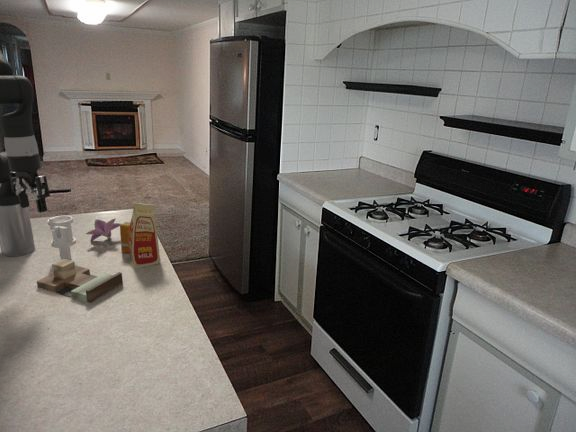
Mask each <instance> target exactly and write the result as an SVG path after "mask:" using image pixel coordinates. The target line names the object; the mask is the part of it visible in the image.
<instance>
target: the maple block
mask: <svg viewBox="0 0 576 432" xmlns="http://www.w3.org/2000/svg"><path fill="white" fill-rule="evenodd" d="M51 265H52V271H53V272H52V274H53V273H54V277H57V278H60V279H64V280H65V279H67V278H69V277H71V276H73V275H75V274H76V270H75V266H76V264H75V261H74V260H72V259H71V260H67V259H62V260H61V259H60V260H58V261H56V262H53V263H52V264H51Z"/></svg>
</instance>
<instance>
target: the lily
mask: <svg viewBox="0 0 576 432" xmlns="http://www.w3.org/2000/svg"><path fill="white" fill-rule="evenodd" d="M115 221H116V218H113V219H110V220H109V221H108V222H106V221H104V220H101V219H95V220H94V222H93V223H94V229H92V230H89V231H88V232H86V233H85V235H91V237H90V242H92V241H95V240H96V239H99V237H101V236H102V237H105V238H107V241H108V243H109V245H110V246H112V243H111V241H110V238H112V237H111V236H112V231H113V230H114V229H117V228H120V225H121V224H122V223H119V222H118V223H117V222H115Z"/></svg>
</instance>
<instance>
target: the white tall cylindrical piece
mask: <svg viewBox="0 0 576 432" xmlns="http://www.w3.org/2000/svg"><path fill="white" fill-rule="evenodd" d="M60 220H66V221H60ZM58 221H59V222H58ZM73 222H74V218H73V216H71V215H57V216H52V217H50V218H48V219H47V225H48V226H49V229H50V230H51V233H52V235H51V236H52V240H51V241H50V245H51V247H52V248H56V249H59V250H58V251H59V256H60V260H62V259H67V260H71V261H72V254H71V247H72V246H74V245H76V243H77V239H76V237H74V236H73V229H72V225H71V224H72V223H73Z"/></svg>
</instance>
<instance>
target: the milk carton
mask: <svg viewBox="0 0 576 432" xmlns="http://www.w3.org/2000/svg"><path fill="white" fill-rule="evenodd" d="M132 205H133V207H132V215H131V219H130V222H129V223H130V234H129V246H130V253H129V254H130V258H131V262H132V265H133V269H137V268H142V267H148V266H154V265H158V264H161V256H160V246H159V237H158V230H157V226H156V225H157V224H156V222H155V221H156V220H155V215H154V214H155V207H156V205H157V204H156V203H139V202H132Z"/></svg>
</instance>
